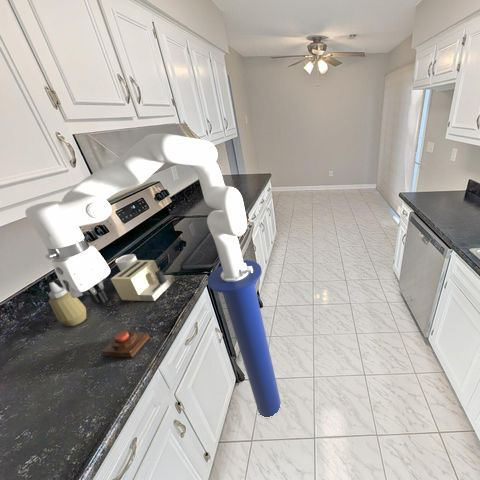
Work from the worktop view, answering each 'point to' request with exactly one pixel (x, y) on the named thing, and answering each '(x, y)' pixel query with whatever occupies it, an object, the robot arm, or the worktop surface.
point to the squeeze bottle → (66, 306)
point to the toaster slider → (160, 277)
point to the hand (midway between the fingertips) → (101, 302)
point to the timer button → (122, 336)
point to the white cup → (125, 261)
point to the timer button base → (126, 345)
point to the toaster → (140, 281)
